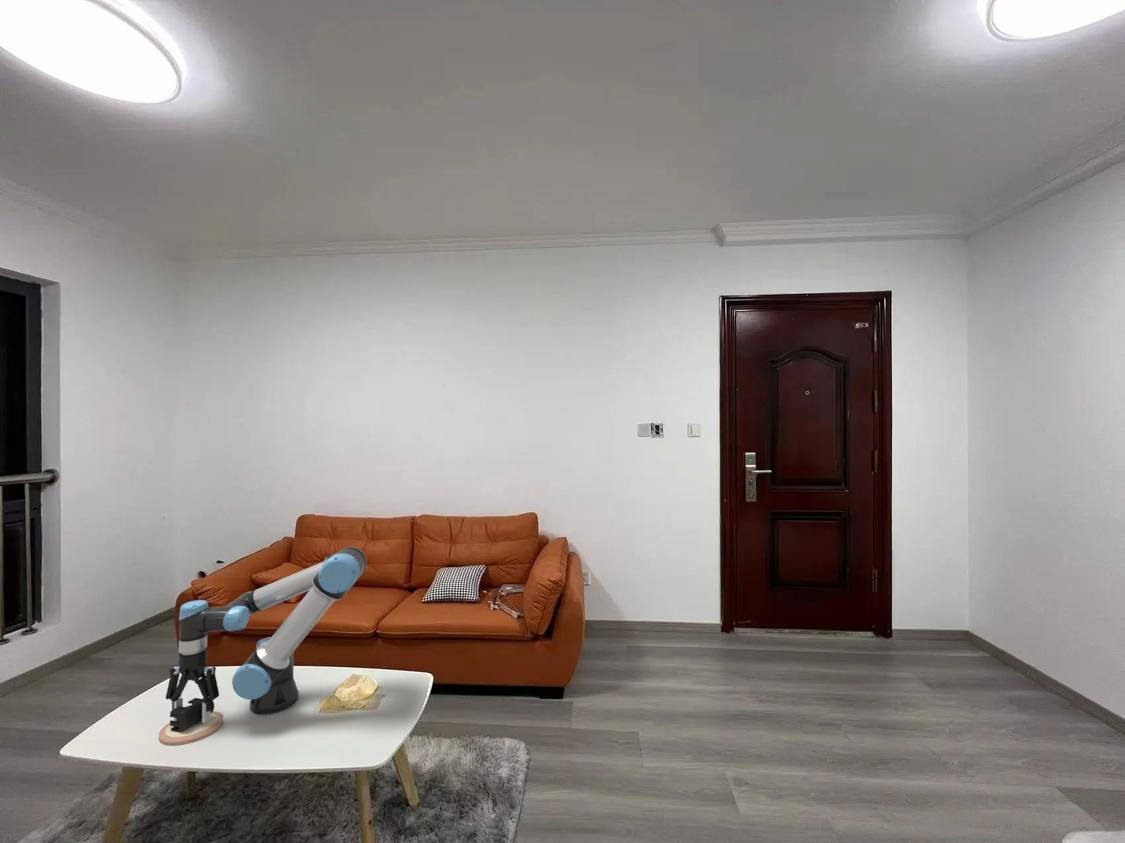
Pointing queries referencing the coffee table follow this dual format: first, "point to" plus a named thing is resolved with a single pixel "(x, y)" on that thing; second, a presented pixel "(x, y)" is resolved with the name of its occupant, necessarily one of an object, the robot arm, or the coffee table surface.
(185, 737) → the plate
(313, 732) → the coffee table surface
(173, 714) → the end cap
